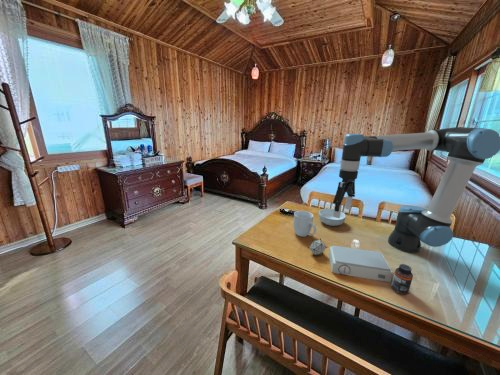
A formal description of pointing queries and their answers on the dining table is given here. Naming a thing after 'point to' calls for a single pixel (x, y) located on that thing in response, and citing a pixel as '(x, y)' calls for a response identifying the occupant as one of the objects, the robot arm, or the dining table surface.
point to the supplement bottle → (402, 279)
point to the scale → (359, 263)
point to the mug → (303, 223)
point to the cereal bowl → (331, 217)
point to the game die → (317, 247)
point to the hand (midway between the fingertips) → (342, 213)
